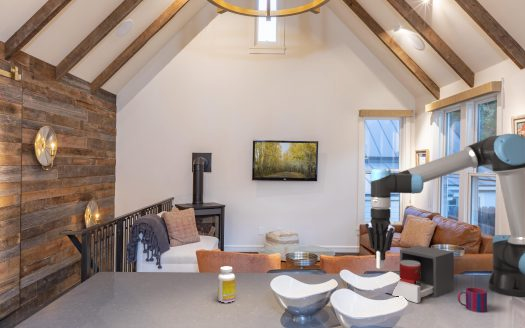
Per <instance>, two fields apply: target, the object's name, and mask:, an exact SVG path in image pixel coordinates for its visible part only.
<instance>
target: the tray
mask: <svg viewBox="0 0 525 328" xmlns="http://www.w3.org/2000/svg"><path fill="white" fill-rule="evenodd" d="M432 293H434V286H431V285H427V284H423V283H421V289H420V286H418V285H414V284H410V283H407V282H403V281H400V280H399V282H398V284H397V286H396V287H395V289H394V291H393V294H392V295H391V296H394V297H396V296H403V297H405V298H406V299H407V301H410V302H413V303H416V304H419V303H421V298H424V297H427V296H429V294H432ZM406 299H405V300H406Z"/></svg>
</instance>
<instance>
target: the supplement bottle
mask: <svg viewBox="0 0 525 328" xmlns="http://www.w3.org/2000/svg"><path fill="white" fill-rule="evenodd" d="M219 271H220V274H218V277H217V293H218V294H217V300H220V301H222V302H231V301H234V300H236V275H235V274H234V272H233V266H229V265H227V266H226V265H225V266H221V267H220V269H219ZM234 302H235V301H234ZM231 303H232V302H231Z"/></svg>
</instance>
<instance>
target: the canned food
mask: <svg viewBox="0 0 525 328" xmlns="http://www.w3.org/2000/svg"><path fill="white" fill-rule="evenodd" d="M400 278H401V279H400ZM399 281H403V282H407V283H410V284H414V285H418V286H420V289H421V265H420V263H419V262H417V261H412V260H402V261H400V260H399Z"/></svg>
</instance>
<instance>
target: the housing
mask: <svg viewBox="0 0 525 328" xmlns="http://www.w3.org/2000/svg"><path fill="white" fill-rule="evenodd" d="M454 256H455V253H454V251H449V250H445V249H439V248H434V247H429V246H423V245H416V246H411V247H407V248H402V249H399V262H400V261H402V260H412V261H417V262H419V263H420V265H421V283H423V284H427V285H431V286H434V293H432V294H429V295H428V296H430V297H433V298H438V297H441V296H443V295H446V294H448V293H449V294H450V292H451V293H452V292H453V291H455V270H454V269H455V268H454V267H455V266H454V265H455V260H454V259H455V257H454Z"/></svg>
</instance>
